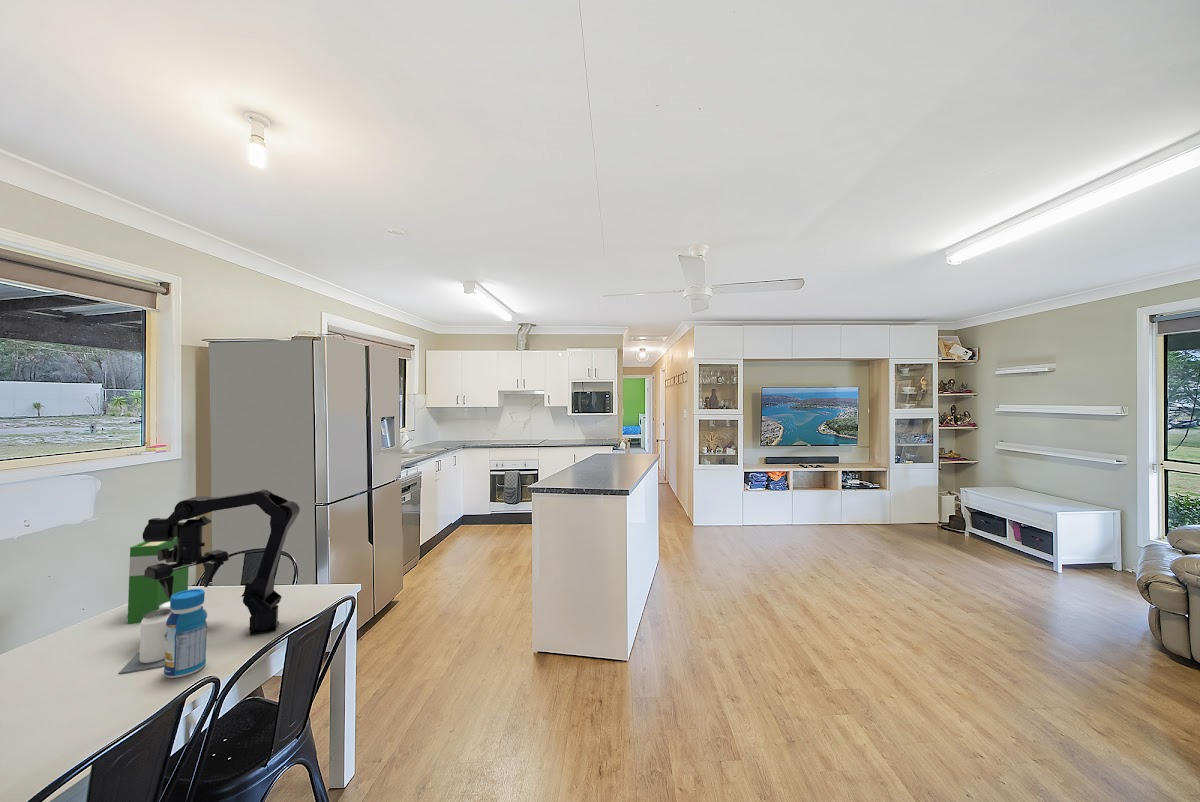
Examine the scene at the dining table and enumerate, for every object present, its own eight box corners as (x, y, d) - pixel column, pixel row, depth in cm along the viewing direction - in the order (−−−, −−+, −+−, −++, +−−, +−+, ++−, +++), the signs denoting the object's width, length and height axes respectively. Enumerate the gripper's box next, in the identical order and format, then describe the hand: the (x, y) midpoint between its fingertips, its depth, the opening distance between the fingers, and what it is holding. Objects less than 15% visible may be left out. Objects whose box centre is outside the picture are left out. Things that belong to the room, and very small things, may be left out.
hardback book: (161, 601, 163) (164, 532, 164) (187, 599, 165) (189, 531, 166) (127, 624, 146) (130, 547, 147) (156, 621, 148) (159, 545, 149)
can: (132, 665, 123) (134, 619, 123) (150, 652, 129) (151, 609, 129) (161, 662, 124) (163, 617, 125) (177, 650, 131) (179, 607, 131)
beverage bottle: (191, 678, 118) (194, 599, 119) (154, 680, 117) (157, 600, 117) (213, 660, 127) (216, 586, 127) (178, 662, 125) (181, 587, 126)
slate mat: (188, 645, 134) (188, 644, 134) (174, 665, 124) (174, 663, 124) (137, 654, 129) (137, 652, 129) (118, 674, 119) (118, 673, 119)
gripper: (209, 529, 152) (207, 578, 151) (134, 544, 134) (132, 599, 134) (230, 533, 148) (229, 583, 147) (156, 550, 130) (154, 606, 130)
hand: (188, 592), depth 140 cm, fingers open, 9 cm apart
